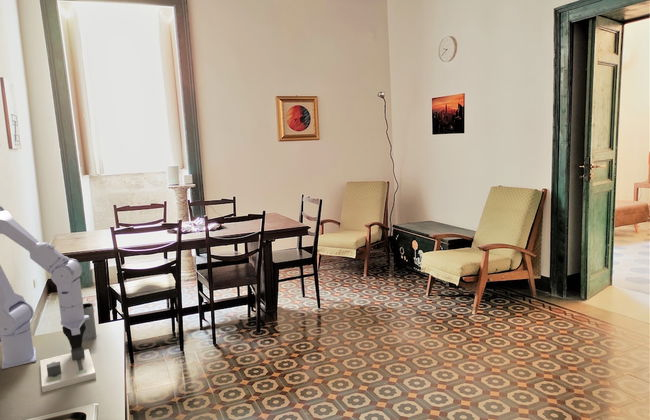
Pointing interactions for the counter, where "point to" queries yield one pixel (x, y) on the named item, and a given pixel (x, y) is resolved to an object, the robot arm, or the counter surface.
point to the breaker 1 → (53, 369)
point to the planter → (89, 322)
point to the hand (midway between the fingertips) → (76, 349)
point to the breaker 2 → (77, 353)
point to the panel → (67, 371)
